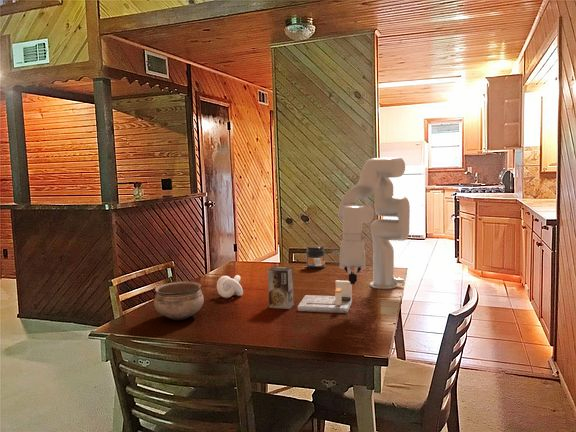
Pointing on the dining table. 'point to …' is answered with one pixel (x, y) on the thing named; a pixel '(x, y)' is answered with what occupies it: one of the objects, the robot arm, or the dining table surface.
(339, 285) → the dial
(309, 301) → the console
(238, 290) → the white rounded piece
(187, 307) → the cooking pot
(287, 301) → the coffee box
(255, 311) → the dining table surface
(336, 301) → the fader tab
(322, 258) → the supplement container
